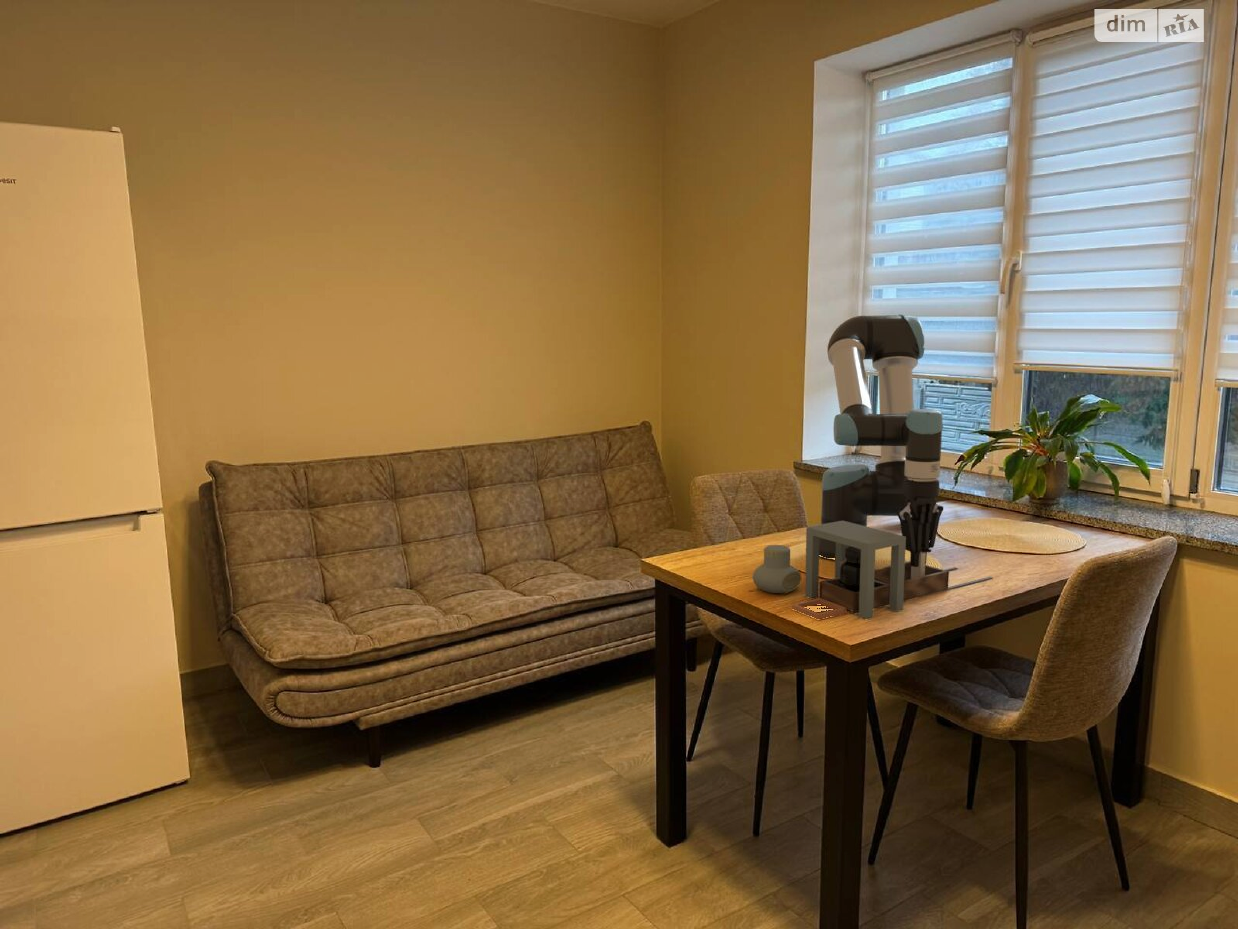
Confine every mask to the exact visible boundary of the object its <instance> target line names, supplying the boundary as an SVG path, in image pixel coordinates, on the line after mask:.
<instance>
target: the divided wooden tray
mask: <svg viewBox="0 0 1238 929" xmlns="http://www.w3.org/2000/svg"><path fill="white" fill-rule="evenodd" d="M890 571H891V564H890V565H887V566H882V567H878V568H875V575H874V604H873V608H874V607H877V606H881V605H885V604H889V597H890ZM949 576H950V571H946V570H944V569H942V568H938V567H934V566H930V565H927V564H926V565H925V576H921V577H917V578H913V579H911V565H910V560H908V561H905V572H904V580H905V581H904V597H903V600H905V599H909V598H913V597H917V596H920V595H924V594H928V593H932V592H936V591H940V590H944V589H948V587H949V578H950V577H949ZM907 579H909V580H907ZM859 597H860V591H859V592H854V591H851V590H848V589H845V588H842V587H839V577H837V578H835V577H833V578H828V579H825V580H819V587H818V598H821V599H824V600H827V601H829V602H832V603H835V604H837V605H840V606H843V607H846V608H847V610H848V611H850V612H858V611H859Z"/></svg>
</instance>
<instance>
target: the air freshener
mask: <svg viewBox="0 0 1238 929" xmlns="http://www.w3.org/2000/svg"><path fill="white" fill-rule="evenodd" d="M752 581H753V583H754V585H755V586H756V587H757V588H759V589H760V590H762V591H764V592H766V593H770V592H771V593H770V594H777V593H785V594H787V593H786V592H788V593H790V592H792V591H794V590H795V589H797V587H799V585H800V583H801V581H802V576H801V573H800V571H799V570H798V568H796V567H795V566H794V565H792V564H791V548H790V547H789V546H786V545H781V544H772V545H767V546H765V547H764V548H763V564H760V565H759V566H758V567H757V568H755V570H754V571H753V573H752Z"/></svg>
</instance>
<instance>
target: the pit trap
mask: <svg viewBox="0 0 1238 929" xmlns="http://www.w3.org/2000/svg"><path fill="white" fill-rule="evenodd" d="M817 604H821V605H817ZM807 606H826V608H825V607H824V608H822V607H821V609H833V610H828V611H827V610H826V611H821V612H814V611H812V610H809V609H810V608H809V609H807V608H804V607H807ZM827 607H828V608H827ZM792 609H794V610H797V611H799V612H801V613H804V614H806V615H809V616H812V617H814V618H816V619H822V620H824V619H823V618H826V617H830V616H834V617H837V615H838V616H841V615H840V614H842V615H845V614H844V613H846V614H847V610H848V609H847V608H846V607H843V606H840V605H837V604H835V603H832V602H829V601H827V600H824V599H821V598H819V597H818V598H814V599H809V600H805V601H801V602H797V603H793V604H791V610H792ZM817 609H818V608H817ZM819 609H820V608H819ZM801 613H800V614H801ZM806 615H805V616H806ZM830 618H831V617H830ZM816 619H815V620H816ZM826 619H827V618H826Z"/></svg>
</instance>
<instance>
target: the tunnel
mask: <svg viewBox="0 0 1238 929" xmlns="http://www.w3.org/2000/svg"><path fill="white" fill-rule="evenodd" d="M805 533H806V535H805V536H806V537H805V540H806V541H805V543H806V544H805V547H806V548H805V578H804V579H805V582H804V583H805V586H804V589H805V590H804V597H805V596H806V597H805V598H807V597H809V598H808V599H810V598H811V599H810V600H813V599H812V598H814V599H817V598H816V597H818V598H819V581H820V580H819V575H820V574H819V573H820V572H819V571H820V557H819V537H820V538H823V539H827V540H830V541H834V542H836V551H835V560H834V562H835V563H834V578H837V577H839V568H840V563H841V562H842V561H843V560H845V559H846V558H845V557H844V555H845V549H846V548H849V546H851V547H855V548H858V549H861V565H860V597H859V611H858V612H853V611H850V612H849V614H850V613H851V614H850V615H852V614H853V615H856V614H855V613H857V614H858V617H859V618H860V617H861V618H862V619H863V620H866V619H867V620H870V619H873V618H874V610H876V609H881V608H884V607H887V606H888V610H890V609H891V611H894V612H900V611H903V610H904V602H906V601H910V600H915V599H919V598H923V597H926V596H931V595H934V594H938V593H941V592H947V591H950V590H953V589H957V588H963V587H966V586H970V585H973V584H977V583H981V582H986V581H989V580H992V579H994V578H993V576H987V577H983V578H979V579H975V580H970V581H967V582H963V583H959V584H955V585H952V586H948V589H944V590H940V591H936V592H932V593H928V594H924V595H920V596H917V597H913V598H909V599H905V600H903V597H904V581H905V580H904V572H905V562H906V550H905V547H906V537H905V536H902V534H897V533H894V532H890V531H889V532H888V531H886V530H881V529H877V528H874V527H869V526H867V527H866V526H862V525H858V524H854V523H850V522H846V521H837V522H832V523H826V524H821V523H820V524H817V525H811V526H806V532H805ZM886 548H890V549H891V550H890V565H891V571H890V597H889V604H885V605H881V606H877V607H874V608H873V604H874V575H875V569H876V568H875V566H876V550H881V549H886ZM957 569H958V567H957V566H953V567H949V568H945V569H943V570H946V571H949V572H950V571H955V570H957ZM907 580H909V579H907ZM861 618H860V619H861Z"/></svg>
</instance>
